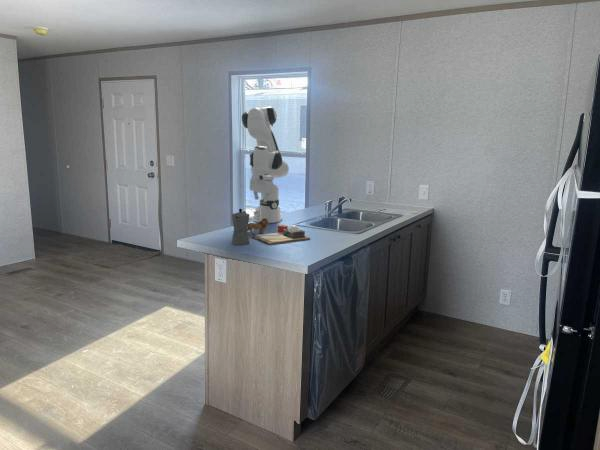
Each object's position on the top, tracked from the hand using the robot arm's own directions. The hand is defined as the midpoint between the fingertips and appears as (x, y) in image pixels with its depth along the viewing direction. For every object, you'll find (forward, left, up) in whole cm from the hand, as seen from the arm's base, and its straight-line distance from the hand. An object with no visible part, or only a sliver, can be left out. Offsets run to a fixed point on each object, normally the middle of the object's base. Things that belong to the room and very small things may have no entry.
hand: (260, 200), depth 246 cm
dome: (+16, +12, -18) cm, 27 cm away
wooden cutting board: (+15, +4, -19) cm, 25 cm away
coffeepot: (+13, -19, -19) cm, 30 cm away
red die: (+3, +13, -19) cm, 23 cm away
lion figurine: (-1, -2, -19) cm, 20 cm away
